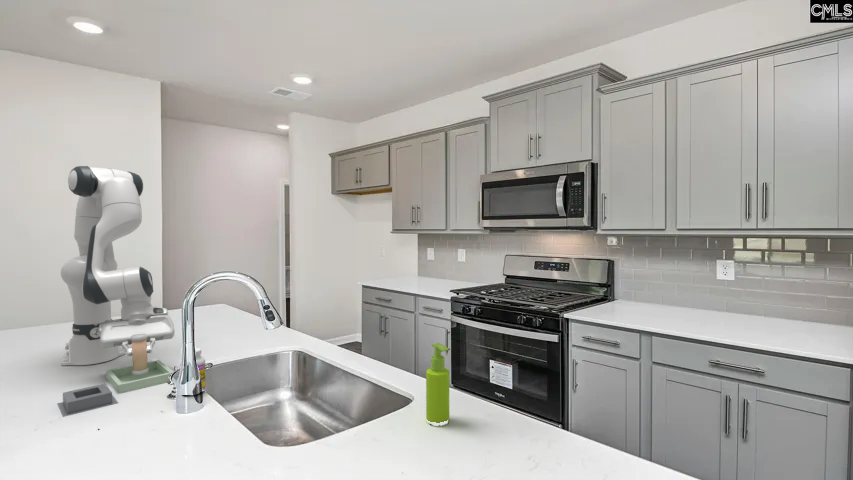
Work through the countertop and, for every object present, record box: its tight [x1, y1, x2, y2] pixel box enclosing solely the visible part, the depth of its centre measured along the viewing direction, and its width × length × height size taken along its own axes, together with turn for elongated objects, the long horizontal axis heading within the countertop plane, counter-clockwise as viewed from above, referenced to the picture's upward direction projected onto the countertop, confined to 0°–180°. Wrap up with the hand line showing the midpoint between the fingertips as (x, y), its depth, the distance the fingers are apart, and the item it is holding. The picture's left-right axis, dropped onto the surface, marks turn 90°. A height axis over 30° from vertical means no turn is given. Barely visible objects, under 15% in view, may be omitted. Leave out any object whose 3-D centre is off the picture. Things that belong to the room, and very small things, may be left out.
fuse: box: [131, 334, 149, 375], centre depth 141 cm, size 4×4×12 cm
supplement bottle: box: [179, 347, 207, 392], centre depth 132 cm, size 7×7×13 cm
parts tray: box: [105, 359, 174, 394], centre depth 141 cm, size 18×15×4 cm
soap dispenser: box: [425, 342, 450, 423], centre depth 112 cm, size 6×7×20 cm
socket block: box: [56, 383, 119, 418], centre depth 123 cm, size 12×12×4 cm
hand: (139, 353), depth 140 cm, fingers closed on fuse, 4 cm apart
